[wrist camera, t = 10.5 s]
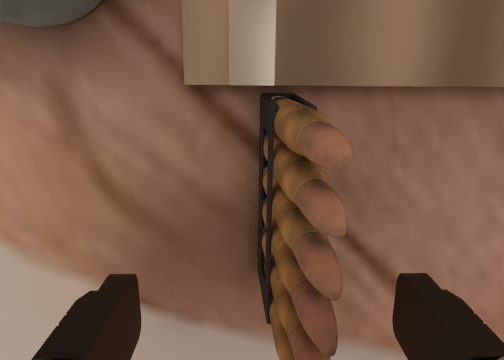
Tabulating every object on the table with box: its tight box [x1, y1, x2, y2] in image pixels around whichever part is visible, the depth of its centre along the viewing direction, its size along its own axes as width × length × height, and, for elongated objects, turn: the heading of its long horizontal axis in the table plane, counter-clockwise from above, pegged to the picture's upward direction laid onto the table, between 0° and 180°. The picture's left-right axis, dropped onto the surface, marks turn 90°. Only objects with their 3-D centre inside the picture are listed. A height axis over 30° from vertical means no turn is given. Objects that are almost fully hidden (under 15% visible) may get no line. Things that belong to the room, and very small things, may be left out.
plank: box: [181, 0, 504, 87], centre depth 17 cm, size 26×7×3 cm, turn 90°
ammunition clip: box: [258, 93, 353, 360], centre depth 16 cm, size 11×2×12 cm, turn 179°
